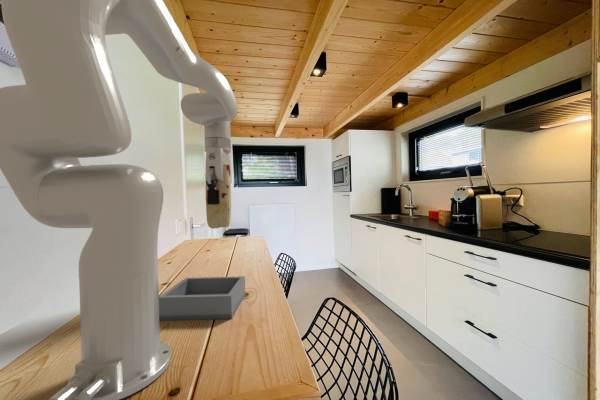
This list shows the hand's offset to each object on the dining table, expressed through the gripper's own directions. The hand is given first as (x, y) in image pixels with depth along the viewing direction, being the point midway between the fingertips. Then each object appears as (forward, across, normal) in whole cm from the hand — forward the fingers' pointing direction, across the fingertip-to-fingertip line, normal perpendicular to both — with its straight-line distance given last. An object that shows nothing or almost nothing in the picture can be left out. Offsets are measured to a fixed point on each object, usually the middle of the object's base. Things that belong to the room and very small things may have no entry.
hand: (218, 204), depth 72 cm
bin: (+25, -13, -1) cm, 28 cm away
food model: (+7, 0, 0) cm, 7 cm away
